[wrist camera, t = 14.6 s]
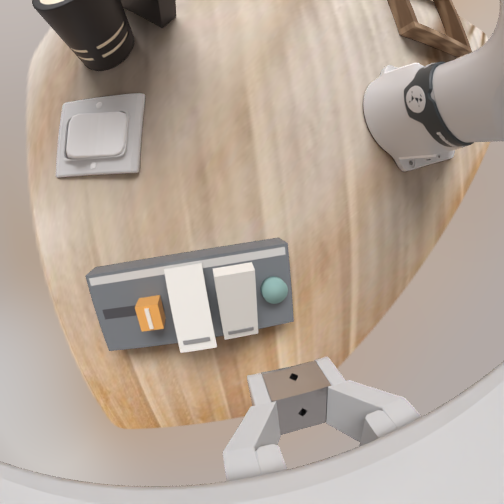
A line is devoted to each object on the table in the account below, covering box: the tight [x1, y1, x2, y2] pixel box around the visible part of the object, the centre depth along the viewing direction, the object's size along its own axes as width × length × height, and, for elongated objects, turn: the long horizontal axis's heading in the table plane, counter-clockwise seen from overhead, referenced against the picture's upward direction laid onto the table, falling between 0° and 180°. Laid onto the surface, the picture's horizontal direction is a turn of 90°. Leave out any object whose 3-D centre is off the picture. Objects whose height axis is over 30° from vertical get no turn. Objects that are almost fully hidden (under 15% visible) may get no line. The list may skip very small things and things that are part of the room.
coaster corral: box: [387, 0, 472, 57], centre depth 33 cm, size 19×19×5 cm
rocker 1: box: [164, 263, 217, 353], centre depth 33 cm, size 4×10×2 cm, turn 7°
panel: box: [86, 238, 294, 351], centre depth 37 cm, size 26×11×5 cm, turn 97°
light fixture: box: [32, 0, 176, 71], centre depth 20 cm, size 10×14×18 cm
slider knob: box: [135, 295, 166, 332], centre depth 33 cm, size 3×3×3 cm
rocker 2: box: [213, 262, 258, 340], centre depth 34 cm, size 4×10×2 cm, turn 7°
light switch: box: [56, 93, 145, 178], centre depth 31 cm, size 11×4×13 cm
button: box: [260, 276, 288, 304], centre depth 36 cm, size 3×3×1 cm
